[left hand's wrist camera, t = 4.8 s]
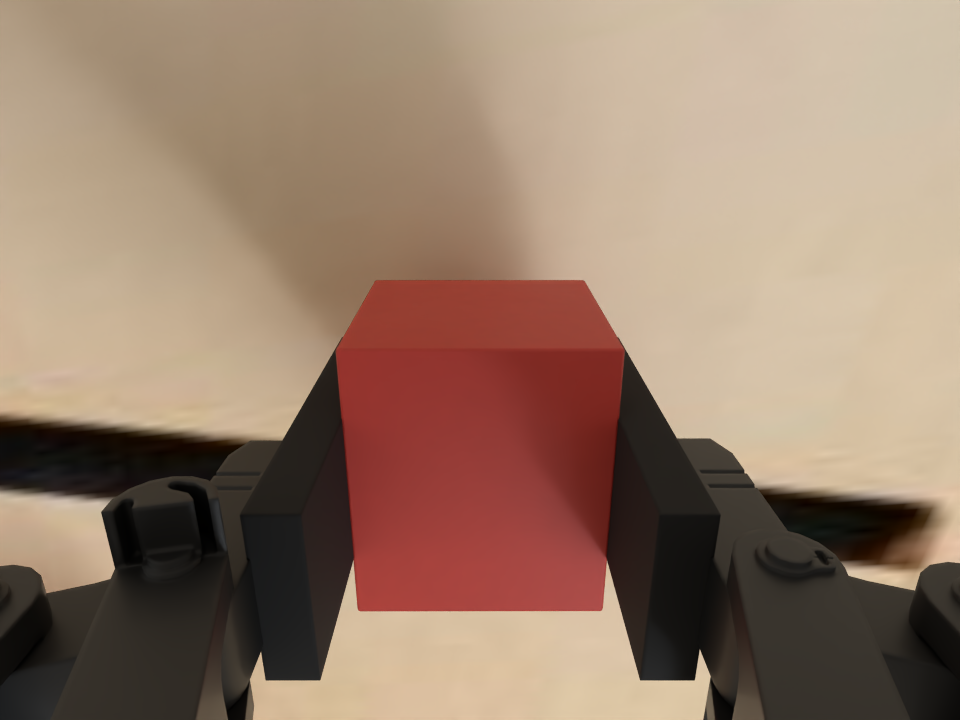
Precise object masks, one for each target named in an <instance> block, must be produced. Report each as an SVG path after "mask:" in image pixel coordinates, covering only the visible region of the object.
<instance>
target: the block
mask: <svg viewBox="0 0 960 720" xmlns="http://www.w3.org/2000/svg"><path fill="white" fill-rule="evenodd" d="M624 354H625V350H624V348H623V346H622V345H621V343H620V341H619V339H618V338H617V336H616V334H615V333H614V331H613V329H612V327H611V326H610V324H609V322H608V321H607V319H606V317H605V315H604V314H603V312H602V310H601V309H600V307H599V305H598V303H597V302H596V300H595V298H594V297H593V295H592V293H591V291H590V290H589V288H588V286H587V285H586V283H585V281H583V280H377V281H375V282H374V284H373V286H372V288H371V289H370V291H369V293H368V295H367V296H366V298H365V300H364V302H363V303H362V305H361V307H360V309H359V310H358V312H357V314H356V316H355V317H354V319H353V321H352V323H351V324H350V326H349V328H348V330H347V331H346V333H345V335H344V337H343V338H342V340H341V342H340V344H339V346H338V347H337V349H336V360H337V372H338V384H339V395H340V407H341V418H342V426H343V437H344V449H345V461H346V473H347V484H348V496H349V508H350V520H351V531H352V543H353V555H354V571H355V583H356V595H357V606H358V610H359V611H601V610H602V608H603V599H604V587H605V575H606V564H607V547H608V535H609V523H610V512H611V500H612V488H613V477H614V465H615V453H616V442H617V430H618V419H619V412H620V401H621V389H622V377H623V366H624Z"/></svg>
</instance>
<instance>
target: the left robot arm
mask: <svg viewBox="0 0 960 720" xmlns="http://www.w3.org/2000/svg"><path fill="white" fill-rule="evenodd" d="M342 338H343V337H342ZM342 338H341V340H342ZM617 338H618V337H617ZM618 339H619V338H618ZM341 340H340V342H341ZM619 341H620V339H619ZM340 342H339V344H340ZM620 343H621V341H620ZM339 344H338V345H337V347H338V346H339ZM621 345H622V343H621ZM622 346H623V345H622ZM337 347H336V349H337ZM623 348H624V346H623ZM336 349H335V351H334V352H333V354H332V356H331V357H330V359H329V361H328V363H327V364H326V366H325V368H324V370H323V371H322V373H321V375H320V376H319V378H318V380H317V382H316V383H315V385H314V387H313V389H312V390H311V392H310V394H309V396H308V397H307V399H306V401H305V402H304V404H303V406H302V408H301V409H300V411H299V413H298V415H297V416H296V418H295V420H294V421H293V423H292V425H291V427H290V428H289V430H288V432H287V434H286V435H285V437H284V439H283V441H249V442H248V443H246V444H245V445H243V446H242V447H240V448H239V449H237V450H236V451H234V452H233V453H231V454H230V455H228V457H227V458H226V460H225V461H224V463H223V464H222V465H221V467H220V468H219V470H218V471H217V472H216V473H217V475H216V476H214V477H213V478H212V480H211V481H210V482H209V481H208V480H205V479H201V478H197V477H192V476H183V477H168V478H163V479H158V480H153V481H149V482H146V483H143V484H141V485H138V486H136V487H133V488H130V489H128V490H127V491H125V492H123V493H122V494H120V495H119V496H117V497H115V498H114V499H112V500H111V501H110V502H109V504H108V505H107V506H106V507H105V508H104V509H103V511H102V512H101V513H102V517H103V521H104V525H105V529H106V533H107V537H108V541H109V546H110V550H111V554H112V558H113V562H114V566H115V570H114V573H113V575H112V577H111V579H109V580H106V581H102V582H98V583H95V584H90V585H85V586H80V587H75V588H71V589H66V590H61V591H56V592H51V593H46V591H45V587H44V584H43V581H42V577H41V575H40V574H38V573H37V572H36V571H35V570H33V569H32V568H30V567H24V566H18V565H8V566H0V720H253V711H254V703H253V696H252V690H251V684H250V678H251V675H252V672H253V670H254V667H255V665H256V662H257V660H258V657H259V655H260V652H261V653H262V660H263V666H264V672H265V679H266V680H320V679H321V676H322V672H323V668H324V665H325V661H326V658H327V654H328V650H329V647H330V643H331V639H332V636H333V632H334V628H335V625H336V621H337V617H338V614H339V610H340V607H341V603H342V599H343V596H344V592H345V588H346V585H347V581H348V577H349V574H350V570H351V566H352V563H353V559H354V555H353V543H352V531H351V520H350V508H349V496H348V484H347V473H346V461H345V449H344V437H343V426H342V418H341V407H340V395H339V384H338V372H337V360H336ZM624 350H625V348H624ZM607 561H608V565H609V569H610V572H611V576H612V579H613V583H614V587H615V590H616V594H617V598H618V601H619V605H620V609H621V612H622V616H623V620H624V623H625V627H626V630H627V634H628V638H629V641H630V645H631V649H632V652H633V656H634V660H635V663H636V667H637V670H638V674H639V678H640V680H695V675H696V669H697V663H698V656H699V650H701V653H702V655H703V658H704V660H705V663H706V665H707V668H708V670H709V673H710V675H711V678H710V684H709V690H708V696H707V702H706V708H705V714H704V719H703V720H960V563H952V562H945V563H939V564H933V565H930V566H928V567H927V568H926V569H925V570H923V571H922V572H921V573H920V576H919V579H918V583H917V586H916V589H915V591H913V590H908V589H904V588H899V587H894V586H889V585H884V584H879V583H875V582H870V581H865V580H862V579H858V578H854V577H851V576H848V574H847V572H846V569H845V567H844V566H843V565H842V563H841V562H840V560H839V559H838V558H837V556H836V555H835V554H834V553H832V552H831V551H830V550H828V549H827V548H825V547H824V546H823V545H821V544H820V543H818V542H816V541H814V540H812V539H809V538H807V537H805V536H803V535H800V534H797V533H793V532H788V531H787V530H786V528H785V527H784V525H783V524H782V523H781V521H780V520H779V518H778V517H777V515H776V514H775V513H774V511H773V510H772V508H771V507H770V506H769V504H768V503H767V501H766V500H765V499H764V497H763V496H762V494H761V493H760V492H759V490H758V489H757V488H755V487H754V483H753V482H752V480H751V479H750V478H749V476H748V475H747V474H745V473H744V469H743V468H742V466H741V465H740V463H739V462H738V461H737V459H736V458H735V456H734V455H733V454H732V453H731V452H730V451H728V450H727V449H725V448H724V447H722V446H721V445H719V444H717V443H716V442H714V441H713V440H711V439H677V438H676V436H675V434H674V433H673V431H672V429H671V428H670V426H669V424H668V422H667V421H666V419H665V417H664V415H663V414H662V412H661V410H660V409H659V407H658V405H657V403H656V402H655V400H654V398H653V396H652V395H651V393H650V391H649V390H648V388H647V386H646V384H645V383H644V381H643V379H642V377H641V376H640V374H639V372H638V371H637V369H636V367H635V365H634V364H633V362H632V360H631V358H630V357H629V355H628V353H627V352H626V350H625V354H624V366H623V377H622V389H621V401H620V412H619V419H618V430H617V442H616V453H615V465H614V477H613V488H612V500H611V512H610V523H609V535H608V547H607Z"/></svg>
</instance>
